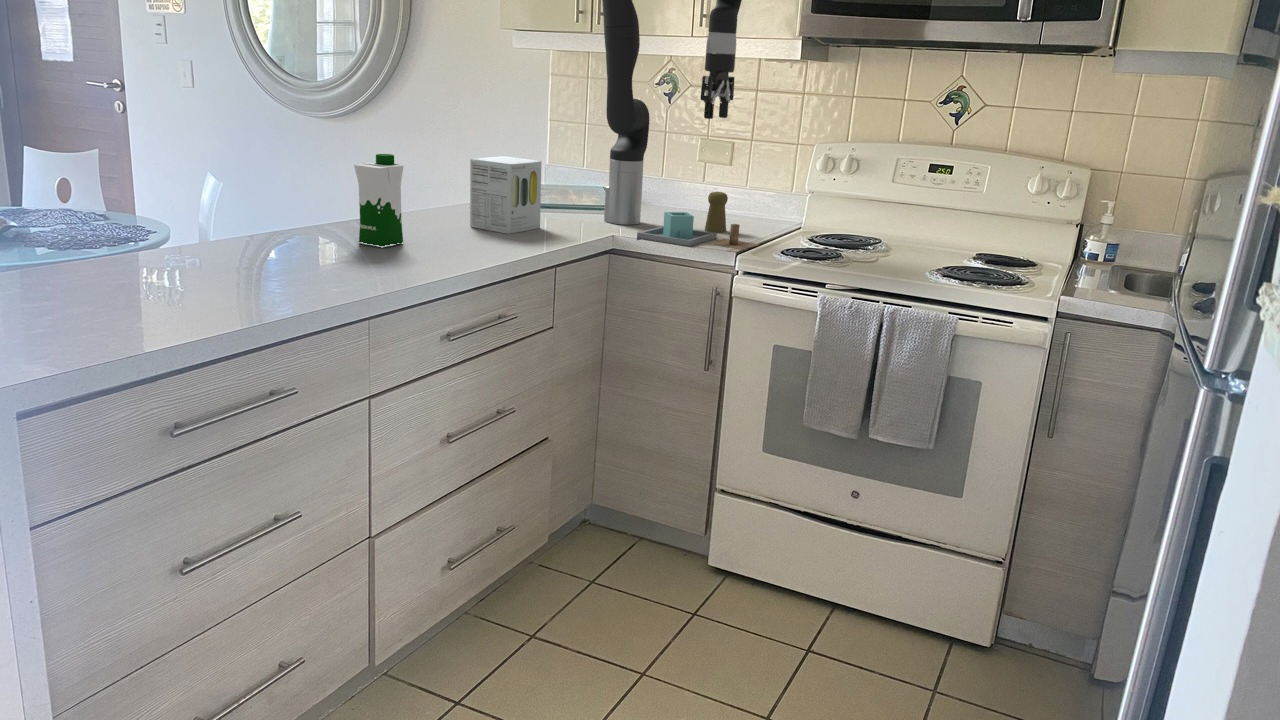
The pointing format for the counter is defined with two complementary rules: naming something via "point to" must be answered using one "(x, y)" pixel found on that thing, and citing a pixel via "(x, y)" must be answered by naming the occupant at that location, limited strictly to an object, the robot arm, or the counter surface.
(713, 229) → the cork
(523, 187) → the supplement box
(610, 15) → the robot arm
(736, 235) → the square board with knob
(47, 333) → the counter surface
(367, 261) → the counter surface
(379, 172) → the milk carton
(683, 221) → the open box
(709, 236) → the tray
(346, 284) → the counter surface
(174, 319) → the counter surface
